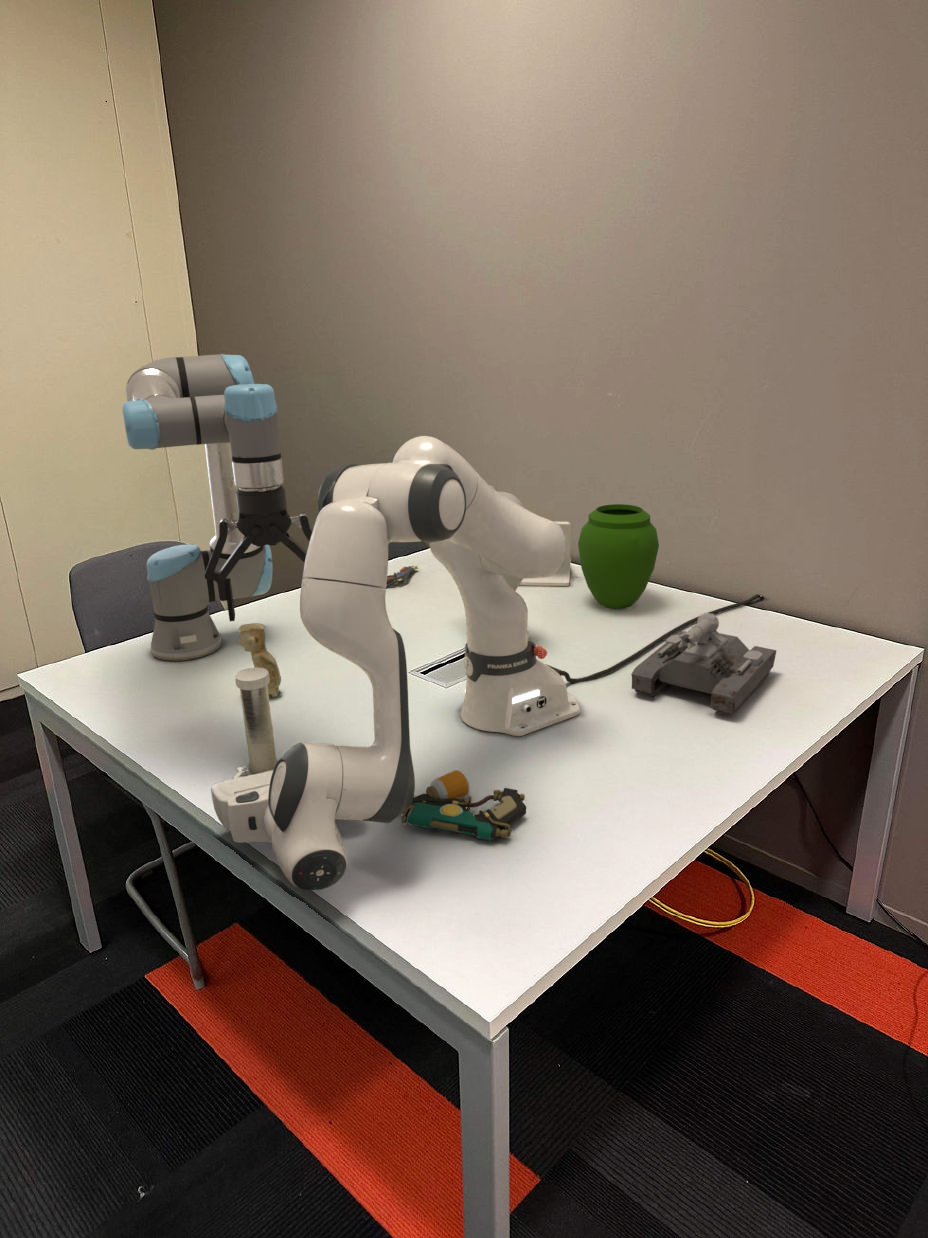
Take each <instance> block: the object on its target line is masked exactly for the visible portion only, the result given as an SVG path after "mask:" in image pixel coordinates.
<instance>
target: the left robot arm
mask: <svg viewBox="0 0 928 1238" xmlns="http://www.w3.org/2000/svg"><path fill="white" fill-rule="evenodd" d="M253 376H254V375H253V374H252V370H251V368H250V364H249V362H248V360H247V359H246V358H245V357H244V356H242V355H240V354H224V353H219V354H218V353H217V354H205V355H203V354H202V355H191V356H170V357H164V358H163V357H162V358H159V359H156V360H153V361H151V362H148V363H146V364H144V365H142V366H140V367H139V368H138V369H136V370H135V371H133V373H132V374H131V375H130V377H129V378H128V380H127V383H126V386H125V395H126V396H125V398H126V401H125V402H124V403H122V406H121V407H122V408H121V410H122V411H121V412H122V416H123V423H124V428H125V435H126V440H127V445H128V446H129V447H130V448H131V449H133V450H149V451H150V450H151V451H153V450H156V449H165V448H173V447H176V448H177V447H184V446H185V447H187V446H199V445H204V448H205V449H204V451H205V457H206V465H207V475H208V481H209V491H210V498H211V507H212V515H213V516H212V517H213V524H214V531H215V535H214V536H213V537H212V538H211V540H210V541H209V549H206V550H201V548H200V547H199V545H197V544H194V543H193V544H192V543H189V544H185V543H184V544H179V545H174V546H169V547H166V548H164V549H161V550H159V551H157V552H154V554H152V555H151V556H149V558H148V559H147V561H146V572H147V578H146V579H147V582H148V583H149V589H150V596H151V603H152V609H153V615H154V626H153V631H152V636H151V642H150V650H151V654H152V656H153V657H154V658H156V659H158V660H162V661H169V662H181V661H190V660H195V659H200V658H203V657H206V656H208V655H211V654H213V653H215V652H216V651H218V650H219V649H220V648H221V646H222V638H221V637H222V636H221V634H220V632H219V630H218V628H217V626H216V624H215V622H214V621H213V619H212V616H211V615H210V612H209V603H214V602H225V601H226V604H227V612H228V620H229V622H235V620H236V610H235V603H234V602H235V601H234V600H236V599H244V598H252V597H256V596H260V595H265V594H266V593H268V592H269V591H270V589H271V586H272V582H273V572H274V571H273V570H274V569H273V566H274V565H273V555H272V549H271V546H277V545H278V544H280V543H282V544H283V545H284V546H285V547H286V548H288V550H290V551H291V552H292V553H293V554H294V555H296V556H297V557H298V558H299V559H300V560H301V561H302V562H303V563H304V564H305V559H306V554H307V550H306V549H305V548H304V547H303V546H302V545H301V544H300V543H299V542H298V541H296V540H295V539H294V537H293V536H292V535H291V534H290V533H289V532H288V531H289V529H290V528H291V527H292V525H295V526H296V528H297V529H298V530H301V531H302V532H303V534H304V536H305V537H306V539H307V541H308V543H309V542H310V538H311V535H312V531H313V528H312V527H311V526H310V521H309V517H308V514H307V513H306V512H301V513H300V514H298V515H297V514H296V515H292V516H291V515H290V514H289V513H288V506H287V496H286V488H285V487H284V486H283V484H284V483H285V477H284V467H283V458H282V453H281V444H280V442H281V441H280V432H279V422H278V405H277V402H276V395H275V390H274V388H273V387H272V386H271V385H270V384H266V383H264V384H263V383H255V379H254V377H253Z"/></svg>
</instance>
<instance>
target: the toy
mask: <svg viewBox="0 0 928 1238" xmlns="http://www.w3.org/2000/svg"><path fill="white" fill-rule="evenodd" d="M719 626H720V622H719V618H718V617H717V616H716V614H710V613H708V612H704V613H702V614H701V615H699V618H698V620H697V621H696V624H694V626H692V627H691V628H690V629H688V631H686V630H679V631H678V632H676V634H672V635H670V636H669V637H667V638H666V639H665V642H664V643H663V644H662V645H661V646H659V648H657V649H656V650H655V651H653V653H651V654H650V655H648V656H647V658H645V659H644V660H643V661H641V662H640V663H639V664H638V665H637V666H635V667H634V669H633V670H632V672H631V674H630V675H631V690H634V692H636V693H639V694H642V695H646V696H651V697H655V696H656V695H657V694H659V693H660V691H662V690H663V689H664V688H665V687H667V685H670V686H674V687H675V686H676V687H679V688H684V689H687V690H693V691H696V692H701V693H704V694H709V695H710V709H713V710H714V711H718V712H721V713H726V714H729V715H735V714H736V713H737V712H738V710H739V709H740V708H741V707H742V706H743V705H744V704H745V703H746V701H748V699H749V698H750V697H751V696H752V695H753V694H754V693H755V691H756V690H757V689H758V688H759V687H760V686H761V685H762V683H763V682H764V681H765V680H766V679H767V678H768V677H769V675H770V673H771V670H772V669H773V668H774V667H775V666H774V665H775V661H776V655H777V650H776V649H773V648H769V647H768V648H767V647H763V646H757V645H754V646H752V648H751V649H749V647H747V646H746V644H745V643H744V642H743V641H742V640H741V639H740V638H739V636H736V635H731V634H726V633H720V632H719V631H718V628H719Z"/></svg>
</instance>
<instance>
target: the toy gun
mask: <svg viewBox="0 0 928 1238" xmlns="http://www.w3.org/2000/svg"><path fill="white" fill-rule="evenodd" d="M418 569H419V566H418V565H409V566H403V567H402V568H401V569H400V570H399V571H397V572H393V574H389V575H387V585H392V584H394V583H399V582H400V583H401V582H405V581H406V579H408V578H409V577H410V576H411V574H412V573H413V572H415V571H416V570H418ZM387 585H386V586H387Z"/></svg>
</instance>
